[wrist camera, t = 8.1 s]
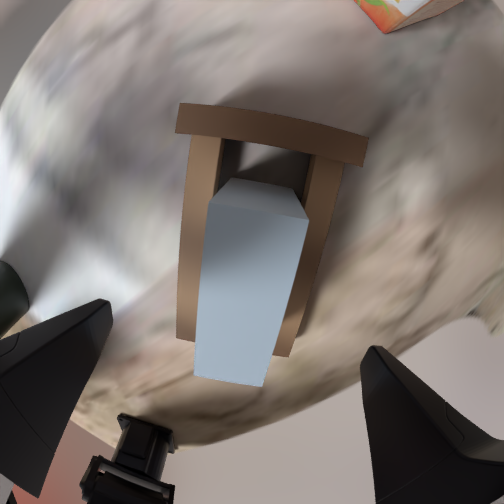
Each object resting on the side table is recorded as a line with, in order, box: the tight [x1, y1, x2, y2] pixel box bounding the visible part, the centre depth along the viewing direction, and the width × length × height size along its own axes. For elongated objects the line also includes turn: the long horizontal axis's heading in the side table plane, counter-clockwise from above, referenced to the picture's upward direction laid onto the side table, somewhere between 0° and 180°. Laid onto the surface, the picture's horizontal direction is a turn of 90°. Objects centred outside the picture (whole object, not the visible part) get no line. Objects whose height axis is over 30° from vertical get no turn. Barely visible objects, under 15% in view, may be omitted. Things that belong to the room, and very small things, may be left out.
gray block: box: [194, 177, 309, 387], centre depth 13 cm, size 8×3×6 cm, turn 170°
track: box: [175, 103, 369, 357], centre depth 13 cm, size 13×7×4 cm, turn 170°
